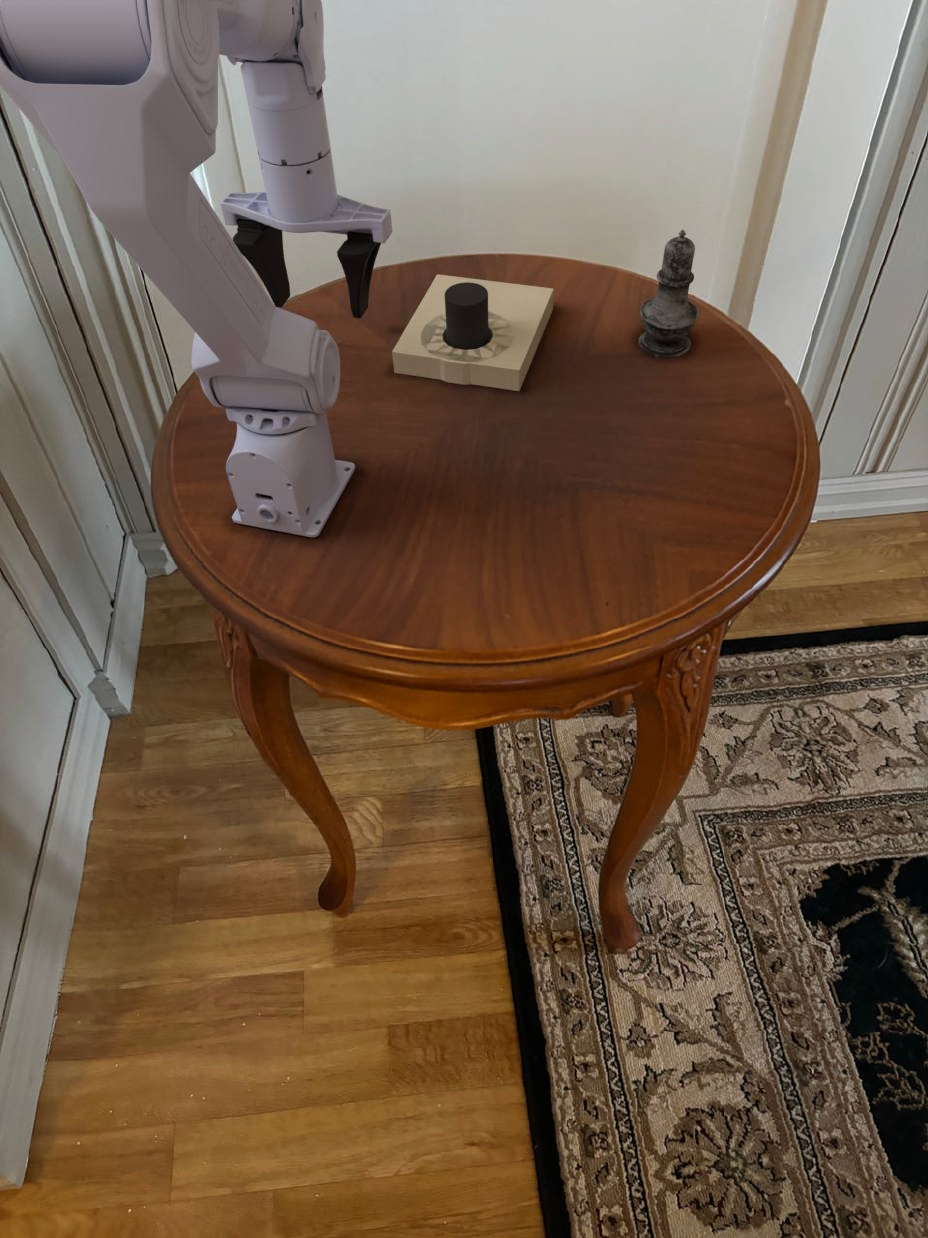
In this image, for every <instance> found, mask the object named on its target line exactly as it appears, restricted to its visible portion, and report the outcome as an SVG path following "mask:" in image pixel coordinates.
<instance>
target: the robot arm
mask: <svg viewBox="0 0 928 1238" xmlns="http://www.w3.org/2000/svg"><path fill="white" fill-rule="evenodd" d="M324 27H325V23H324V9H323V2H322V0H0V87H1V88H2V90H3V91H4V93H6V95H7V96H8V97H9V98H10V99H11V101H13V103H14V104H15V105H16V106H17V107H18V109H19V110H20V111H21V112H22V114H23V115H24V116H25V117H26V118H27V120H28V121H29V122H30V123H31V125H32V126H33V127H34V128H35V129H36V130H37V132H38V133H39V134H40V135H41V137H43V139H44V140H45V141H46V143H48V144H49V146H50V147H51V148H52V149H53V150H54V151H56V152H57V153H58V154H60V157H61V158H62V161H63V162H64V164H65V166H66V167H67V169H68V171H69V173H70V175H71V176H72V178H73V180H74V182H75V183H76V185H77V187H78V189H79V191H80V193H81V194H82V197H83V198H84V200H85V202H86V204H87V205H88V207H89V209H90V211H91V212H92V213H93V214H94V216H95V217H96V218H97V220H98V221H99V222H100V223H101V225H103V227H104V228H105V229H106V230H107V231H108V232H109V234H110V235H111V236H112V237H113V238H114V240H115V241H116V242H117V243H118V244H119V246H120V247H121V248H122V249H123V250H124V251H125V252H126V254H127V255H128V256H129V257H130V258H131V260H132V261H133V262H134V263H135V264H136V265H137V266H138V267H139V268H140V270H141V271H142V272H143V274H144V275H146V277H147V278H148V279H149V280H150V282H152V283H153V285H154V286H155V287H156V288H157V290H158V291H160V293H161V294H162V295H163V297H165V298H166V300H167V301H168V302H169V303H170V304H171V306H172V307H173V308H174V309H175V310H176V311H177V313H178V314H179V315H180V316H181V317H182V318H183V319H184V321H185V322H186V323H187V324H188V325H189V326H190V328H191V329H192V330H193V331H194V333H193V335H194V336H193V340H192V346H191V360H190V361H191V362H190V363H191V370H192V372H194V374H196V376H197V377H198V379H199V383H200V386H201V389H202V392H203V394H204V395H205V396H206V398H207V399H208V401H209V403H210V404H212V406H214V407H215V408H219V409H220V408H221V409H224V410H225V413H226V416H227V420H228V421H230V422H235V423H236V435H235V441H234V444H233V447H232V449H231V451H230V453H229V455H228V458H227V460H226V463H225V472H226V476H227V479H228V483H229V485H230V489H231V492H232V495H233V498H234V501H235V504H236V507H237V508H236V509H235V510H234V512H233V514H232V516H231V519H232V522H233V523H236V524H239V525H245V526H250V527H255V528H260V529H265V530H272V531H277V532H283V533H286V534H292V535H296V536H301V537H307V538H317V537H319V535H320V534H321V532H322V530H323V529H324V526H325V525H326V523H327V521H328V519H329V518H330V516H331V514H332V512H333V511H334V508H335V507H336V506H337V505H336V504H337V503H338V501H339V500H340V498H341V496H342V494H343V492H344V490H345V488H346V486H347V485H348V483H349V481H350V479H351V478H352V476H353V474H354V472H355V470H356V464H355V463H354V462H351V461H345V460H340V459H336V457H335V452H334V451H335V450H334V447H333V442H332V436H331V430H330V425H329V420H328V413H329V412H330V410H331V409H332V408H333V407H334V406H335V404H336V402H337V400H338V397H339V393H340V392H339V391H340V385H341V357H340V351H339V347H338V344H337V342H336V340H335V338H333V337H332V334H331V333H330V331H328V330H326V329H320V328H319V326H318V324H317V323H316V321H314V320H312V319H310V318H308V317H304V316H302V315H299V314H297V313H294V312H291V311H288V310H285V309H283V306H284V305H285V304H286V303H287V301H288V300H289V299H290V297H291V287H290V280H289V276H288V275H289V274H288V269H287V266H286V260H285V259H286V258H285V251H284V238H283V236H284V235H283V232H286V233H293V234H305V233H306V234H307V233H308V234H309V233H329V234H336V235H337V234H338V235H346V238H347V239H346V240H344V241H343V242H342V243H341V246H340V247H339V248H338V249H337V251H336V256H337V259H338V261H339V263H340V265H341V268H342V271H343V274H344V277H345V280H346V284H347V288H348V289H347V290H348V294H349V295H348V297H349V298H348V299H349V305H350V310H351V311H350V312H351V314H352V317H353V318H354V319H362V318H363V316H364V315H365V313H366V311H367V310H368V308H369V299H370V298H369V297H370V287H371V282H372V281H371V280H372V276H373V272H374V271H373V270H374V267H375V264H376V260H377V257H378V254H379V251H380V248H381V245H382V244H385V243H386V242H387V240H388V239H389V238H390V237H391V234H393V223H392V213H391V209H390V208H389V209H388V208H381V207H377V206H374V205H369V204H367V203H363V202H360V201H357V200H355V199H351V198H348V197H346V196H342V195H340V194H338V190H337V183H336V176H335V170H334V162H333V155H332V149H331V139H330V134H329V127H328V126H329V125H328V120H327V119H328V117H327V112H326V105H325V98H324V92H323V91H324V90H323V84H324V82H325V81H326V62H325V61H326V59H325V52H324V51H325V49H324V39H325V38H324V37H325V36H324V35H325V33H324V32H325V29H324ZM219 56H225V57H226V58H227V60H228V62H230V64H231V65H232V66H236V65H237V63H241V65H240V71H241V72H240V73H241V77H242V82H243V87H244V92H245V96H246V102H247V106H248V111H249V116H250V121H251V125H252V131H253V135H254V141H255V146H256V150H257V155H258V160H259V165H260V170H261V175H262V180H263V185H264V190H265V191H258V192H234V191H233V192H232V191H230V192H229V193H228V194H227V195H226V196H225V197H224V198H223V199H222V200H221V201H220V202H219V204H220V205H219V206H220V208H221V209H220V210H221V214H222V217H223V221H224V224H223V223H222V221H221V219H220V218H219V216H218V215H217V213H216V211H215V210H214V208H213V206H212V205H211V203H210V202H209V200H208V199H207V198H206V197H207V196H205V194H204V193H203V191H202V189H201V187H200V186H199V184H198V183H197V181H196V180H195V178H194V177H193V175H192V172H193V171H194V170H196V169H197V168H198V167H200V166H201V165H202V164H203V163H205V162H206V161H208V160H209V159H210V158H211V157H212V156H214V155H215V154H216V150H217V148H216V147H217V146H216V145H217V136H216V135H217V129H218V124H219V123H218V122H219ZM225 225H226V226H233V227H234V226H237V228H236V231H237V232H236V233H235V234H234V235H233V237H231V235H230V233H229V232H228V230H227V228H226V227H225ZM247 261H248V262H247ZM248 263H249V264H250V265H249V264H248ZM251 267H252V268H253V269H252V268H251ZM253 270H254V271H255V272H254V271H253ZM255 273H256V274H257V275H258V277H259V279H260V280H261V281H260V280H259V279H258V278H257V276H256V275H255ZM261 282H262V283H263V285H264V287H265V289H266V290H265V289H264V287H263V285H262V284H261ZM266 291H267V292H266ZM267 293H268V294H267Z"/></svg>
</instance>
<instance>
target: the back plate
mask: <svg viewBox="0 0 928 1238" xmlns="http://www.w3.org/2000/svg"><path fill="white" fill-rule="evenodd" d="M464 282H471V283H477V284H480V285H482V286H484V287H485V288H486V289H487V291H488V330H489V343H488V344H487V345H485V346H483V347H480V348H478V349H472V350H461V349H455V348H453V347H450V346H448V345H447V331H446V312H445V291H446V290H447V289H448V288H449V287H451V286H452V285H455V284H458V283H464ZM554 294H555V288H551V287H543V286H536V285H526V284H519V283H509V282H502V281H495V280H494V281H493V280H488V279H487V280H486V279H479V278H478V279H477V278H471V277H461V276H455V275H447V274H439V273H438V274H436V275H435V277H434V279H433V281H432V282H431V284H430V286H429V287H428V289H427V291H426V293H425V295H424V296H423V298H422V300H421V301H420V303H419V305H418V306H417V308H416V309H415V312H414V313H413V315H412V317H411V318H410V320H409V322H408V324H407V325H406V327H405V328H404V330H403V332H402V334H401V335H400V337H399V339H398V341H397V343H396V344H395V346H394V347H393V349H392V351H391V355H392V364H393V372H394V374H399V375H407V376H414V377H420V378H426V379H433V380H440V381H443V382H446V383H448V384H456V385H462V386H464V385H465V386H467V385H474V386H480V387H487V388H493V389H501V390H507V391H515V392H520V391H521V388H522V386H523V383H524V381H525V379H526V376H527V374H528V371H529V369H530V366H531V364H532V361H533V359H534V356H535V354H536V352H537V350H538V347H539V344H540V342H541V339H542V337H543V335H544V332H545V330H546V327H547V325H548V322H549V320H550V318H551V315H552V312H553V310H554Z"/></svg>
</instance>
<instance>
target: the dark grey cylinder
mask: <svg viewBox="0 0 928 1238" xmlns="http://www.w3.org/2000/svg"><path fill="white" fill-rule="evenodd" d="M445 312H446V331H447V345H448V346H450V347H453V348H455V349H461V350H472V349H478V348H480V347H483V346H485V345H487V344H488V343H489V330H488V291H487V289H486V288H485V287H484V286H482V285H480V284H477V283H471V282H464V283H458V284H455V285H452V286H451V287H449V288H448V289H447V290H446V291H445Z"/></svg>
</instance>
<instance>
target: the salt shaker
mask: <svg viewBox="0 0 928 1238" xmlns="http://www.w3.org/2000/svg"><path fill="white" fill-rule="evenodd" d="M686 235H687V233H686V231H685V230H684V229H681V230H680V231H679V232H678V236H675V237H673V238H670V239H669V240H668V241H666V243H665V245H664V251H663V257H662V264H661V269H660V270H658V271H657V273H656V280H657V281H658V285H657V293H656V295H655V296H654V297H652V298H649V299H647V300H646V301H644V302H643V303H642V304H641V306H640V307H639V315H640V318H641V322H642V325H643V329H644V332H642V334H640V336H639V337H638V345H639V348H640V349H641V350H642V351H643V352H644V353H646V354H648V355H650V356H652V357H654V358H655V357H656V358H659V359H660V358H662V359H674V358H678V357H682V356H683V355H685V354H686V353H687V352H689V350H690V349H691V346H692V345H691V344H692V342H691V340H690V338H689V337H688V335H689V334H690V332H691V330H692V329H693V328H694V326H695V324H696V323H697V322H698V320H699V319H700V311H699V308H698V307H697V306H696V305H695V304H694V302H692V301H690V300H689V296H688V295H689V290H690V285H691V284H692V283H693V281H695V275H694V273H693V272H692V268H693V262H694V258H695V252H696V246H695V243H694V242H693V240H692V239H690V238H688V237H686Z"/></svg>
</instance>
